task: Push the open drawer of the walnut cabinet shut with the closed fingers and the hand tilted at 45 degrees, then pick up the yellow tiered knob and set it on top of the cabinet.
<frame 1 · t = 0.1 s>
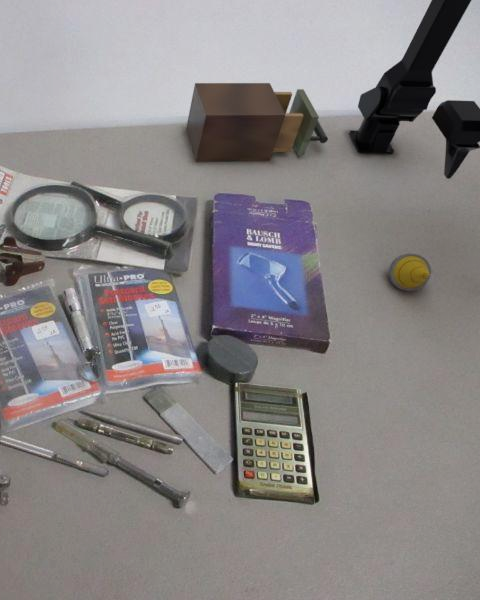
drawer: (281, 122, 105), point 5 cm above the table, slide at 5.0 cm
yellow tiered knob: (405, 288, 87), on the table
cabinet: (226, 144, 108), on the table
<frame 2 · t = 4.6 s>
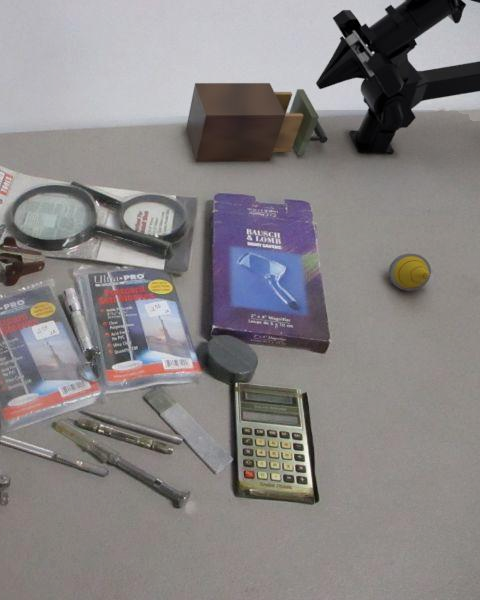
hand: (317, 86, 100), 12 cm above the table, tool tilted 45°, fingers closed
nothing on the table moved.
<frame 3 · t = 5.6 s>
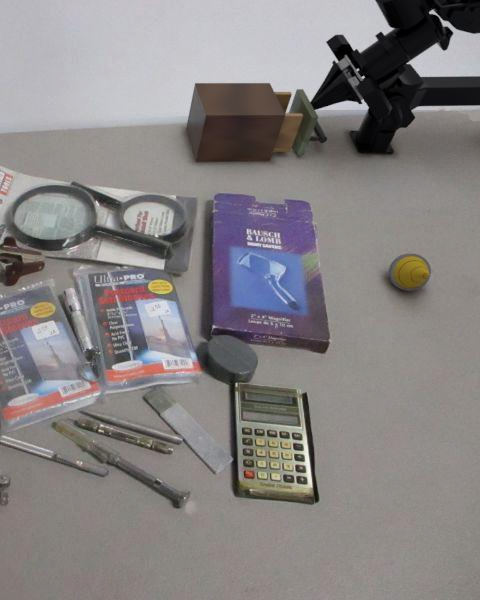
hand: (310, 107, 103), 8 cm above the table, tool tilted 45°, fingers closed, pressing on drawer
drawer: (280, 122, 105), point 5 cm above the table, slide at 4.9 cm, touching gripper
everything else where it was.
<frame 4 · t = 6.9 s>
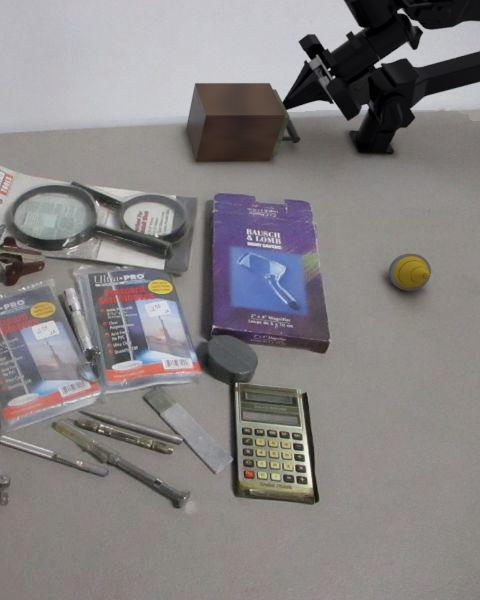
hand: (282, 107, 103), 8 cm above the table, tool tilted 45°, fingers closed, pressing on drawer
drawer: (253, 122, 105), point 5 cm above the table, slide at 0.0 cm, touching cabinet, gripper
everything else where it was.
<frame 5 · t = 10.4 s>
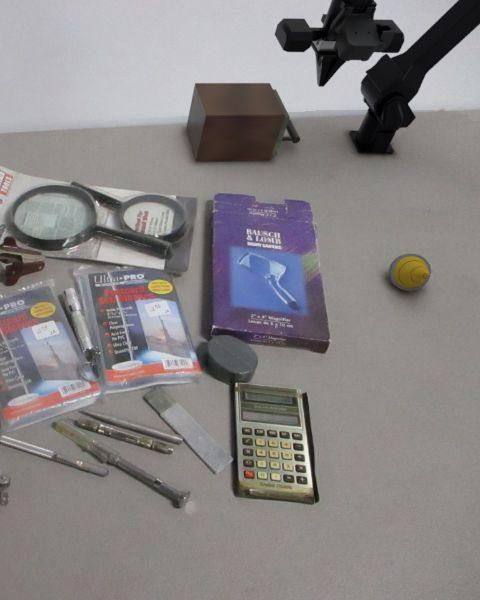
hand: (320, 85, 99), 12 cm above the table, tool pointing down, fingers closed
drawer: (253, 122, 105), point 5 cm above the table, slide at 0.0 cm, touching cabinet
everything else where it was.
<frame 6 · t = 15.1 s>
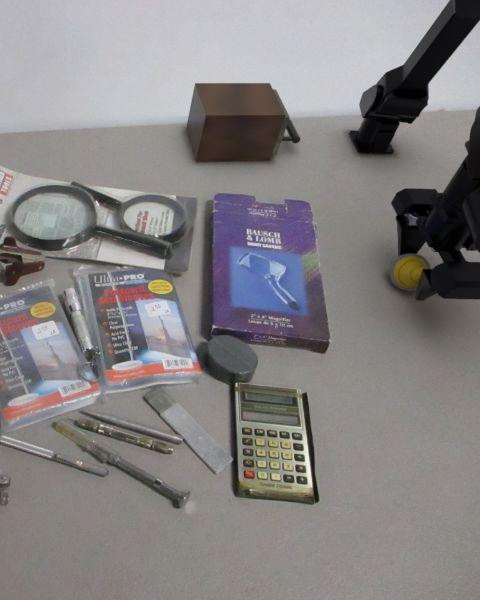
hand: (410, 282, 86), 1 cm above the table, tool pointing down, fingers closed on yellow tiered knob, 6 cm apart
yellow tiered knob: (405, 288, 87), on the table, touching gripper
everything else where it was.
when the fingers open (11 cm above the table, at t = 20.6 s): yellow tiered knob stays where it is, resting on cabinet.
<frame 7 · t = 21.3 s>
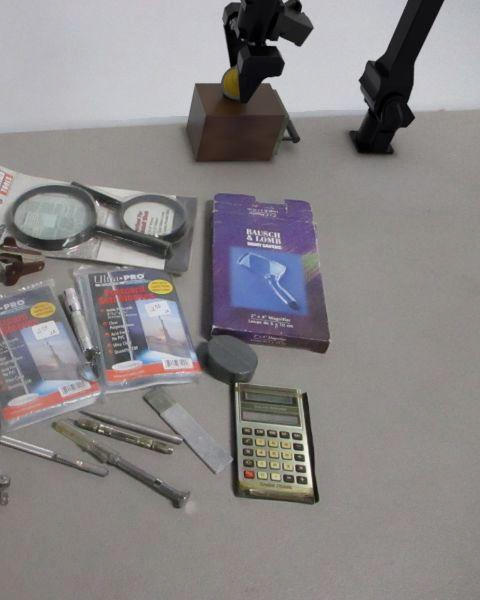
hand: (238, 87, 99), 11 cm above the table, tool pointing down, fingers open, 9 cm apart
yellow tiered knob: (236, 99, 101), point 9 cm above the table, touching cabinet
everything else where it was.
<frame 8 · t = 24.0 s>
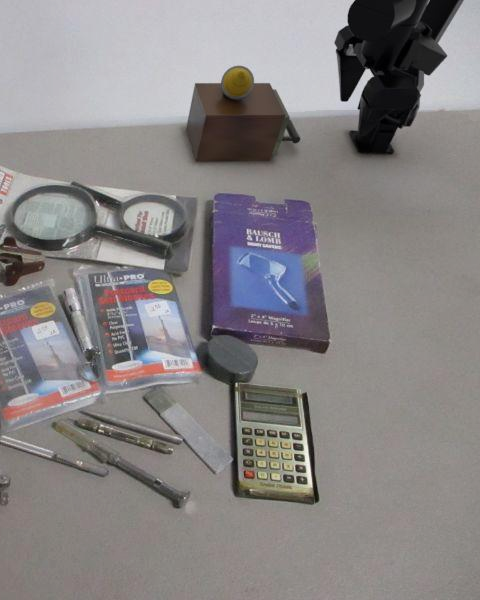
hand: (352, 117, 92), 13 cm above the table, tool pointing down, fingers open, 9 cm apart
nothing on the table moved.
at the end: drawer slide at 0.0 cm; yellow tiered knob inside the target area on the cabinet (0.5 cm from its centre), point 9.2 cm above the cabinet's base; the gripper is holding nothing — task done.
